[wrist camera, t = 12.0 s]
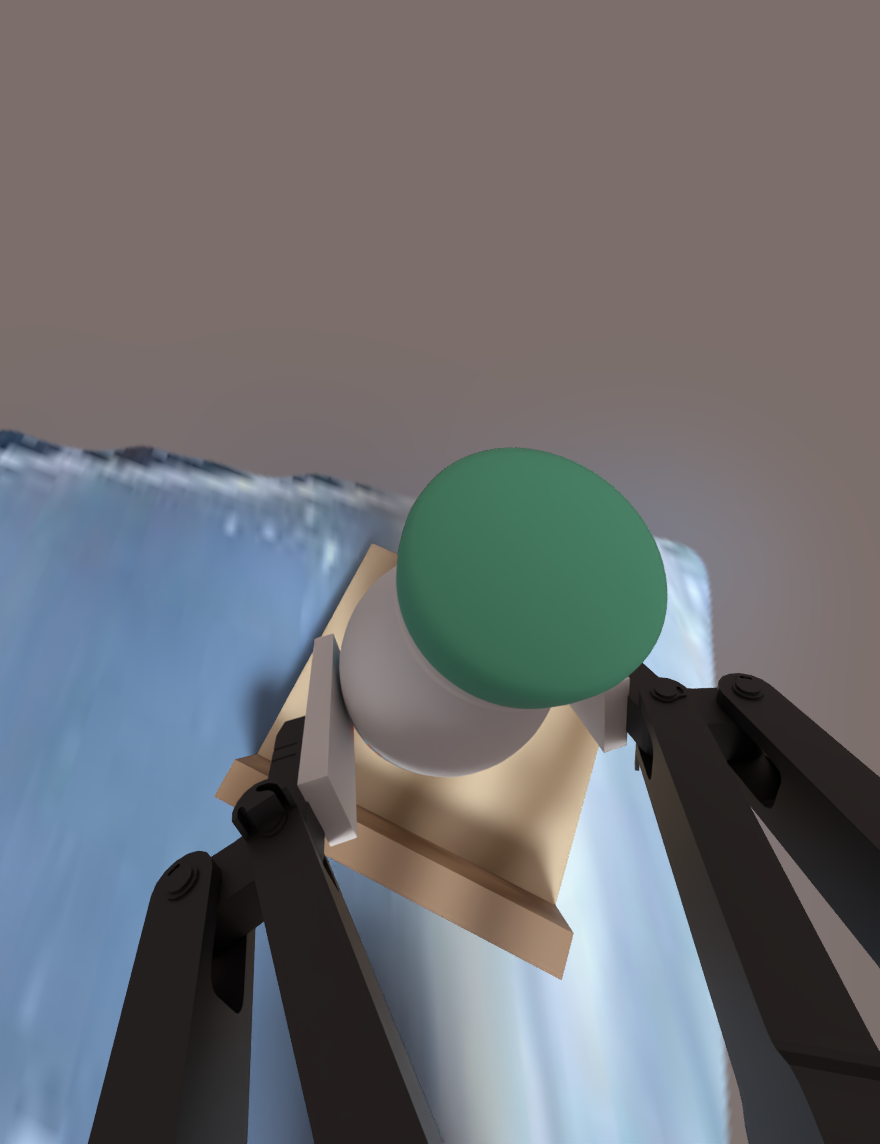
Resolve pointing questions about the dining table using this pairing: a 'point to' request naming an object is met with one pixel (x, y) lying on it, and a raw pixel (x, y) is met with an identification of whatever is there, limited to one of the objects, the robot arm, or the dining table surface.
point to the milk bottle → (499, 611)
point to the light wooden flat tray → (460, 819)
